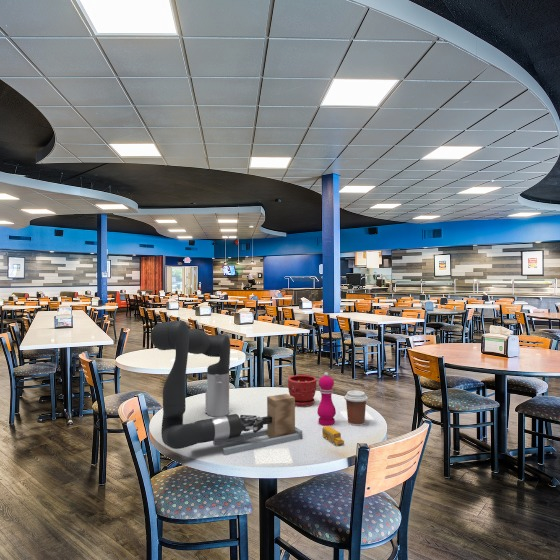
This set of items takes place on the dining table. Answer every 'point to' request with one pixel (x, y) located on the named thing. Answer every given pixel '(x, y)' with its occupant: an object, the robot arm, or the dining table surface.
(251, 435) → the trap channel
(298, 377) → the plant pot
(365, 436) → the dining table surface
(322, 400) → the pepper mill
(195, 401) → the dining table surface
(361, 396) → the coffee cup
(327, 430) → the toy bus
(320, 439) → the dining table surface
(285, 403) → the walnut block
